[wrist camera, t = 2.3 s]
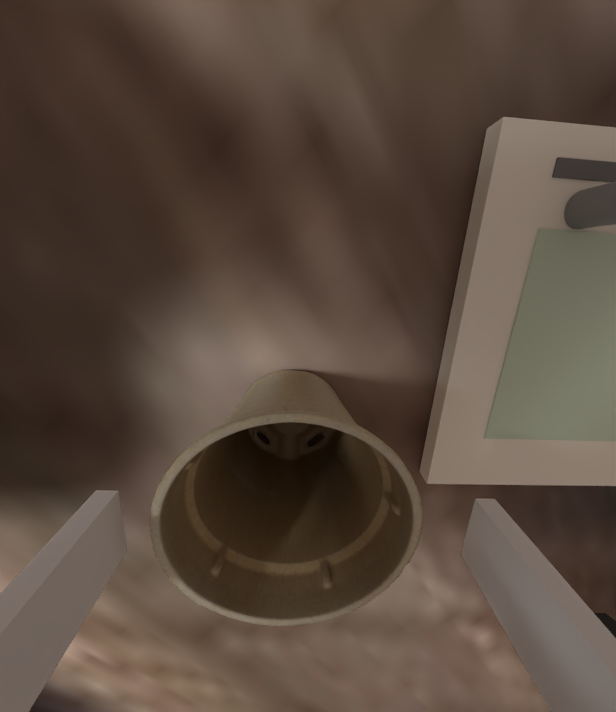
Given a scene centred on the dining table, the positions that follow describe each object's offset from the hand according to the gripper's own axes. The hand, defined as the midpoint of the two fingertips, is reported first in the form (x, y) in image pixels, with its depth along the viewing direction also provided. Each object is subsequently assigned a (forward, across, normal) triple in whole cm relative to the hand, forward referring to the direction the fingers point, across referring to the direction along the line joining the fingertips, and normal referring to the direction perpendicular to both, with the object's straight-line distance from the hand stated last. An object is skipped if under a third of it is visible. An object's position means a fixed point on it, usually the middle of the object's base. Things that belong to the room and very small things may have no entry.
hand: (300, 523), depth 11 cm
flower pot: (+8, 0, 0) cm, 8 cm away
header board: (+8, +18, +6) cm, 20 cm away
